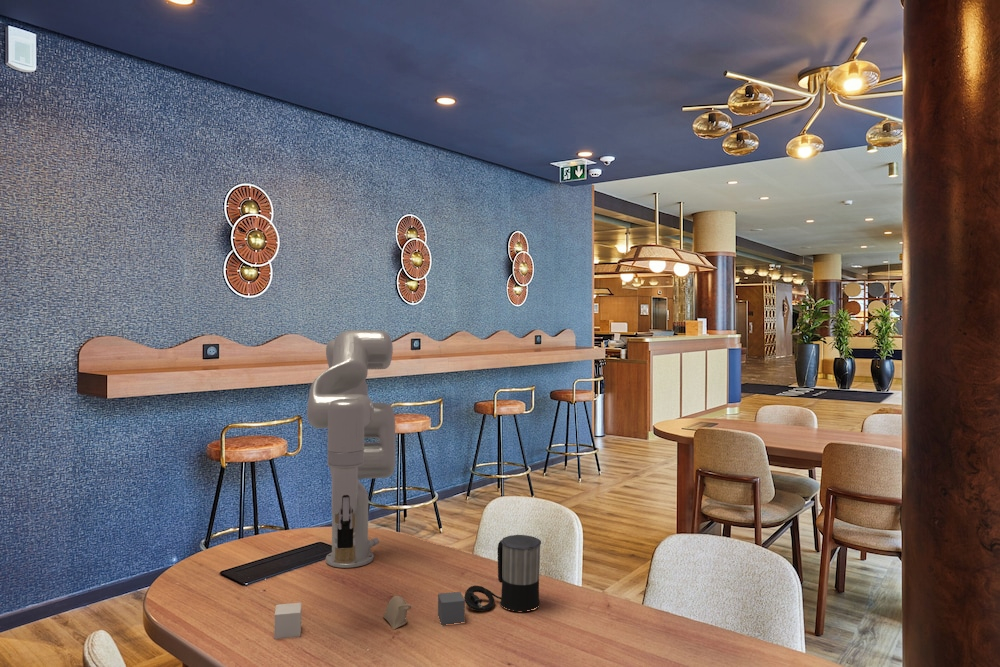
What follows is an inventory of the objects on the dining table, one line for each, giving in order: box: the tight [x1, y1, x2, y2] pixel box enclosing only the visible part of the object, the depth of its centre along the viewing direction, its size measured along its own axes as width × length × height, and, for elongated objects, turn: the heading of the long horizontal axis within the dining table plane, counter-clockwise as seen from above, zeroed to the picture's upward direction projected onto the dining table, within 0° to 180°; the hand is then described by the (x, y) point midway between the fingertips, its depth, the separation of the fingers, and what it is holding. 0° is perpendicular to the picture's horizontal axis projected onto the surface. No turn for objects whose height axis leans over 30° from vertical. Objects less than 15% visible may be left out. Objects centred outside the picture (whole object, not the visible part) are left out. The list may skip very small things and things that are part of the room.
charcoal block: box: [437, 591, 466, 626], centre depth 145 cm, size 5×5×5 cm
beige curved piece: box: [382, 595, 412, 630], centre depth 143 cm, size 4×8×5 cm, turn 28°
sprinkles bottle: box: [334, 496, 356, 564], centre depth 142 cm, size 5×5×13 cm
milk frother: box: [463, 534, 542, 612], centre depth 153 cm, size 14×16×15 cm
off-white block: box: [273, 602, 302, 640], centre depth 138 cm, size 5×5×5 cm
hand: (344, 542), depth 142 cm, fingers closed on sprinkles bottle, 4 cm apart
